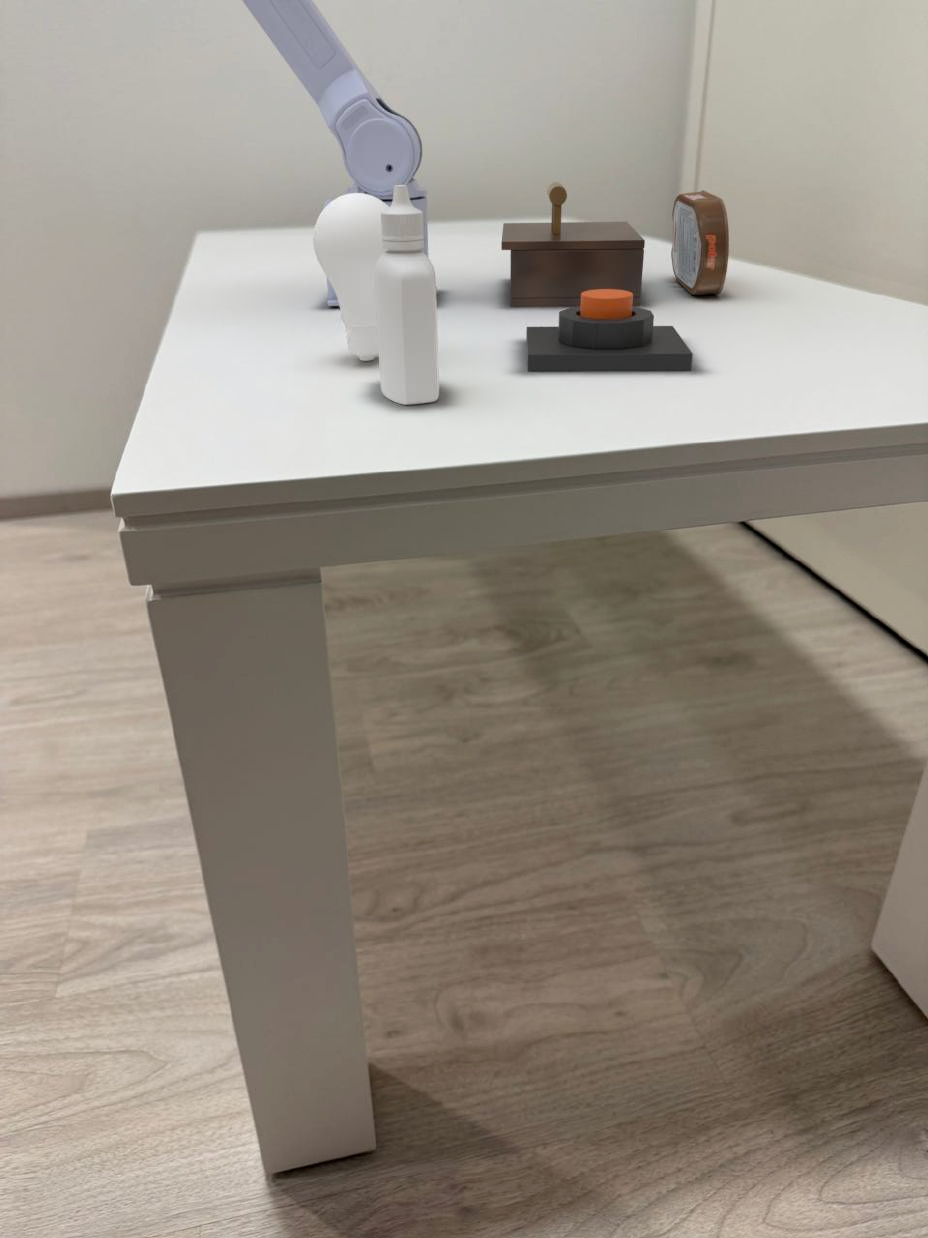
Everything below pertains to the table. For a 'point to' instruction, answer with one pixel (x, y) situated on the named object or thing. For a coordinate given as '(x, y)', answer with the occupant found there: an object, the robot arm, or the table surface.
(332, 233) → the lightbulb
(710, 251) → the tin
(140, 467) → the table surface
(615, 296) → the button
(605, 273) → the box
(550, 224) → the lid
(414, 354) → the eye dropper bottle
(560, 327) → the switch block
